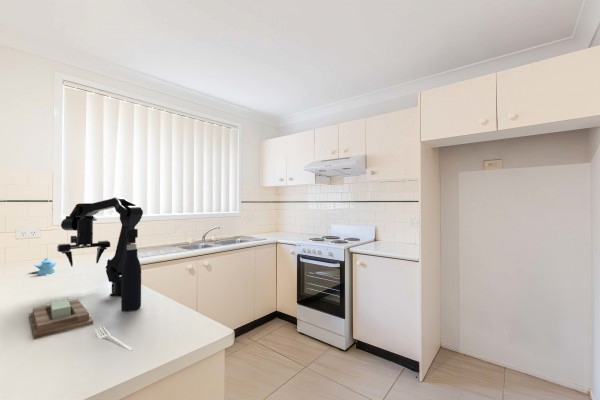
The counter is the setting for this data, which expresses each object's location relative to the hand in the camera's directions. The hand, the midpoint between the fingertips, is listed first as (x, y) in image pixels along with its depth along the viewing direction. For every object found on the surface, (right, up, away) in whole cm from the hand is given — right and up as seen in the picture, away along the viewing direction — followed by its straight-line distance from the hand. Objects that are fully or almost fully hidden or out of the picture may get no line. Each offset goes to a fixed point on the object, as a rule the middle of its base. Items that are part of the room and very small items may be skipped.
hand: (84, 264), depth 127 cm
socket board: (+17, -11, -32) cm, 38 cm away
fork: (+45, -12, -47) cm, 66 cm away
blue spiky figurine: (-51, -13, +36) cm, 64 cm away
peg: (+17, -10, -32) cm, 38 cm away
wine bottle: (+35, -12, -22) cm, 43 cm away
